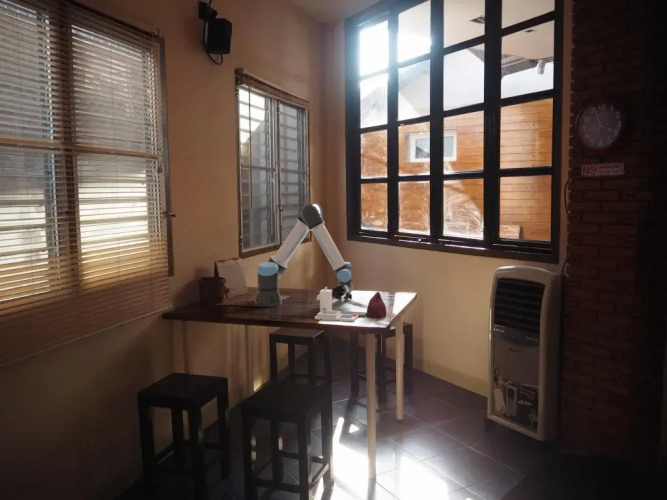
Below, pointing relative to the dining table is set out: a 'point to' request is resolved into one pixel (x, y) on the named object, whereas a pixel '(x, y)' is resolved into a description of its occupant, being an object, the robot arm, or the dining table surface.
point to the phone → (361, 314)
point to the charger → (325, 299)
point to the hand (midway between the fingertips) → (329, 298)
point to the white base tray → (336, 316)
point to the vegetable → (376, 307)
